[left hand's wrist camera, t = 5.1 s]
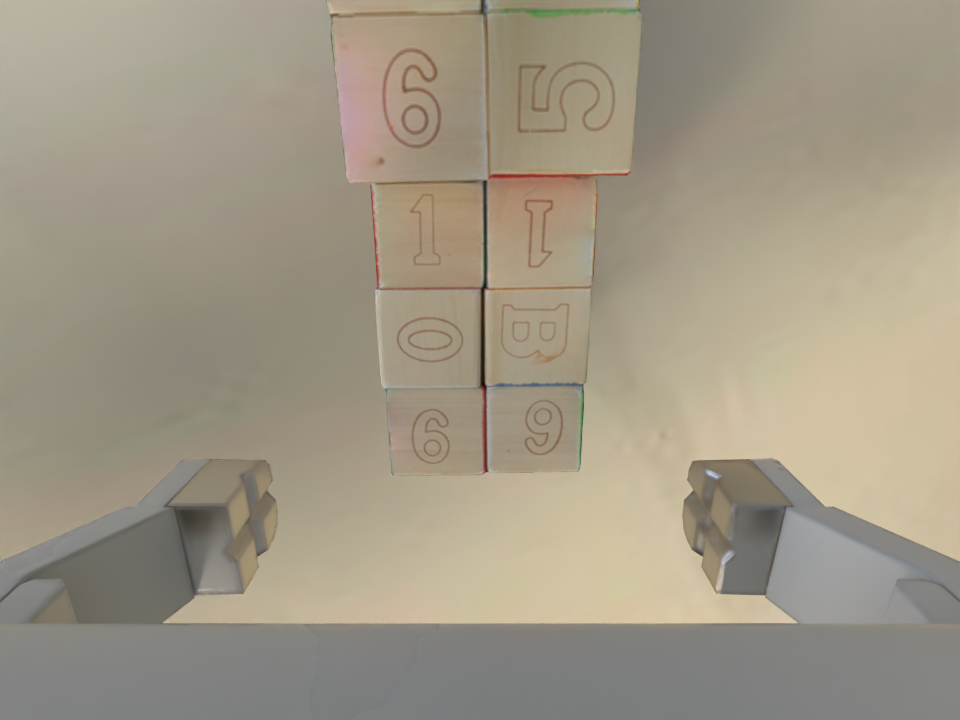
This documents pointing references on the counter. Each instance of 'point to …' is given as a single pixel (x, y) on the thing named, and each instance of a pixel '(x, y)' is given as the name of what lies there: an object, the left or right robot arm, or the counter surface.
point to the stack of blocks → (485, 213)
